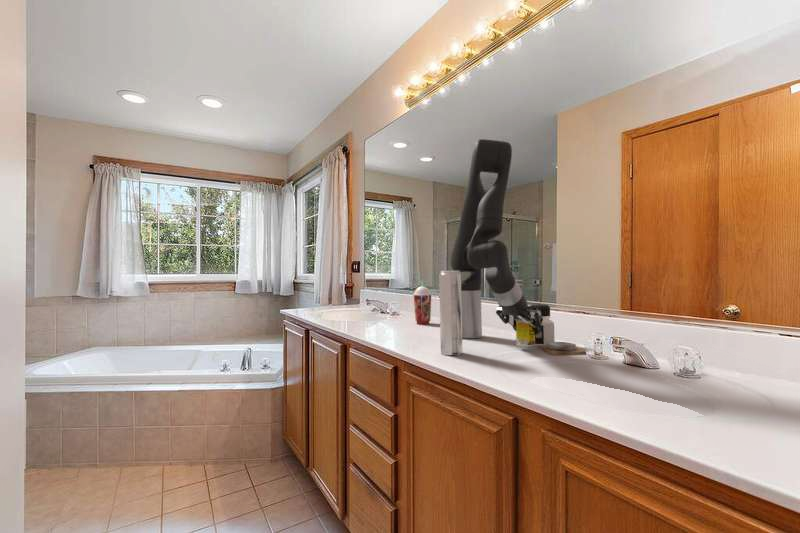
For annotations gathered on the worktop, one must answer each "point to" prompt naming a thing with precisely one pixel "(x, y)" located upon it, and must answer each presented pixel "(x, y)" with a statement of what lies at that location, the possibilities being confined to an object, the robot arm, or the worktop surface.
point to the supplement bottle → (524, 334)
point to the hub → (561, 348)
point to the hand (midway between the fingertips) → (528, 330)
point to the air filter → (450, 312)
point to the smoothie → (422, 304)
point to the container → (544, 326)
